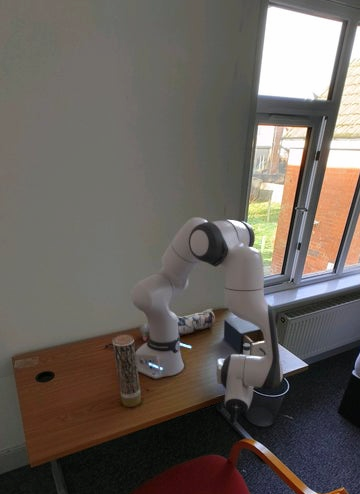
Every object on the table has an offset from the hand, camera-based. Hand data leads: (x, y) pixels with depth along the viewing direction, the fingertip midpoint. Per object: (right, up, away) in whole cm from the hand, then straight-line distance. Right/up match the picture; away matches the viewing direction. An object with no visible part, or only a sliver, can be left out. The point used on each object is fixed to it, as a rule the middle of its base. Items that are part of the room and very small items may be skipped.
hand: (246, 357), depth 134 cm
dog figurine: (-37, +9, +33) cm, 51 cm away
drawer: (+8, +1, +15) cm, 17 cm away
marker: (0, -7, +3) cm, 7 cm away
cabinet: (+4, +6, +25) cm, 26 cm away
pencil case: (-19, +12, +37) cm, 44 cm away
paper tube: (-42, -16, -8) cm, 46 cm away
